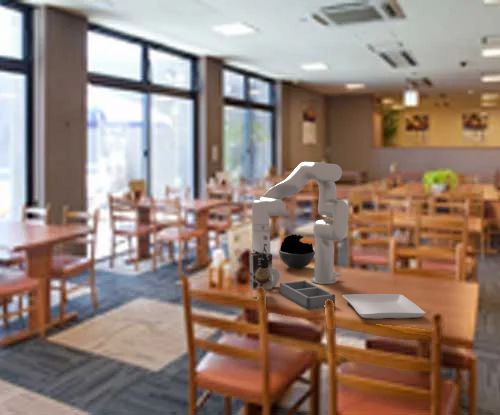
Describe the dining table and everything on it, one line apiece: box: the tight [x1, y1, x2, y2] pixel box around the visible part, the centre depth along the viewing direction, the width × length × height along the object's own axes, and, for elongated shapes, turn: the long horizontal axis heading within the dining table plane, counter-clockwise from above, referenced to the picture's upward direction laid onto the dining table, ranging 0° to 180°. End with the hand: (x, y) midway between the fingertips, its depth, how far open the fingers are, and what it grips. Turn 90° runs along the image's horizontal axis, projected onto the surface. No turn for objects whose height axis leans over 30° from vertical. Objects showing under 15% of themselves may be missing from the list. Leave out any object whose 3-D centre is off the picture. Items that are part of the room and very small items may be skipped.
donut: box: [272, 266, 280, 288], centre depth 247 cm, size 10×4×10 cm, turn 123°
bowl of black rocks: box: [278, 233, 315, 270], centre depth 286 cm, size 20×20×19 cm
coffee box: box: [249, 252, 273, 291], centre depth 232 cm, size 9×6×16 cm
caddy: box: [279, 279, 336, 310], centre depth 228 cm, size 26×13×5 cm, turn 24°
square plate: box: [342, 293, 427, 320], centre depth 214 cm, size 27×27×4 cm
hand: (260, 265), depth 232 cm, fingers closed on coffee box, 6 cm apart
